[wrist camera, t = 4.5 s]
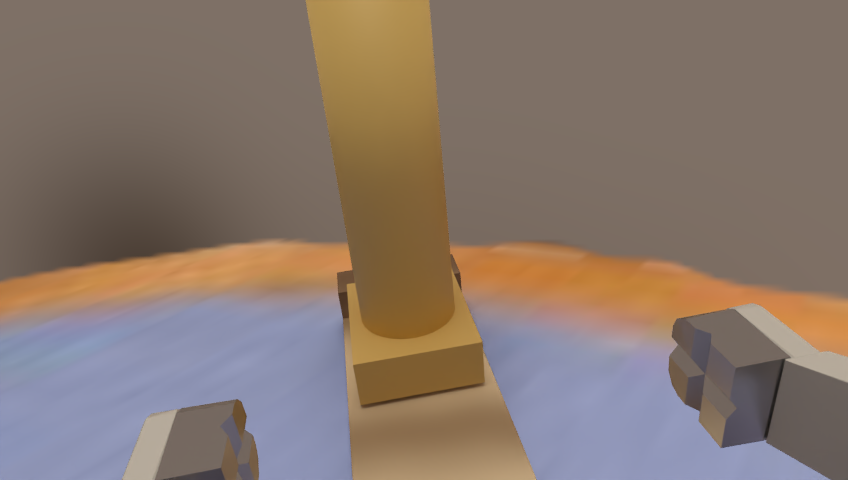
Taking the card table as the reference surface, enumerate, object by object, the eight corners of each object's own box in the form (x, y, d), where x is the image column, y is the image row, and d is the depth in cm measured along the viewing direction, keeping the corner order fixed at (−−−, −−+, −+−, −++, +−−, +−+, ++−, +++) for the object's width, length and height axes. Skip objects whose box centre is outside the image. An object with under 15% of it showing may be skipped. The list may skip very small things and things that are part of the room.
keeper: (484, 382, 23) (457, -71, 16) (360, 405, 22) (272, -52, 15) (454, 302, 28) (423, -64, 21) (353, 319, 28) (285, -50, 20)
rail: (678, 873, 12) (695, 810, 10) (389, 954, 11) (367, 899, 10) (455, 302, 31) (451, 254, 30) (346, 320, 31) (337, 272, 29)
